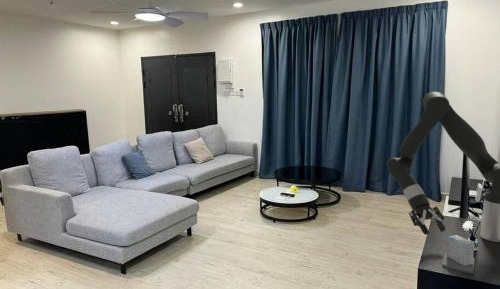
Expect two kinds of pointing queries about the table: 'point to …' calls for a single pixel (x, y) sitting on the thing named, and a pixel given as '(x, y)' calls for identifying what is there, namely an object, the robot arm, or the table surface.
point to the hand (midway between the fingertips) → (435, 232)
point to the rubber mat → (457, 265)
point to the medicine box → (460, 250)
